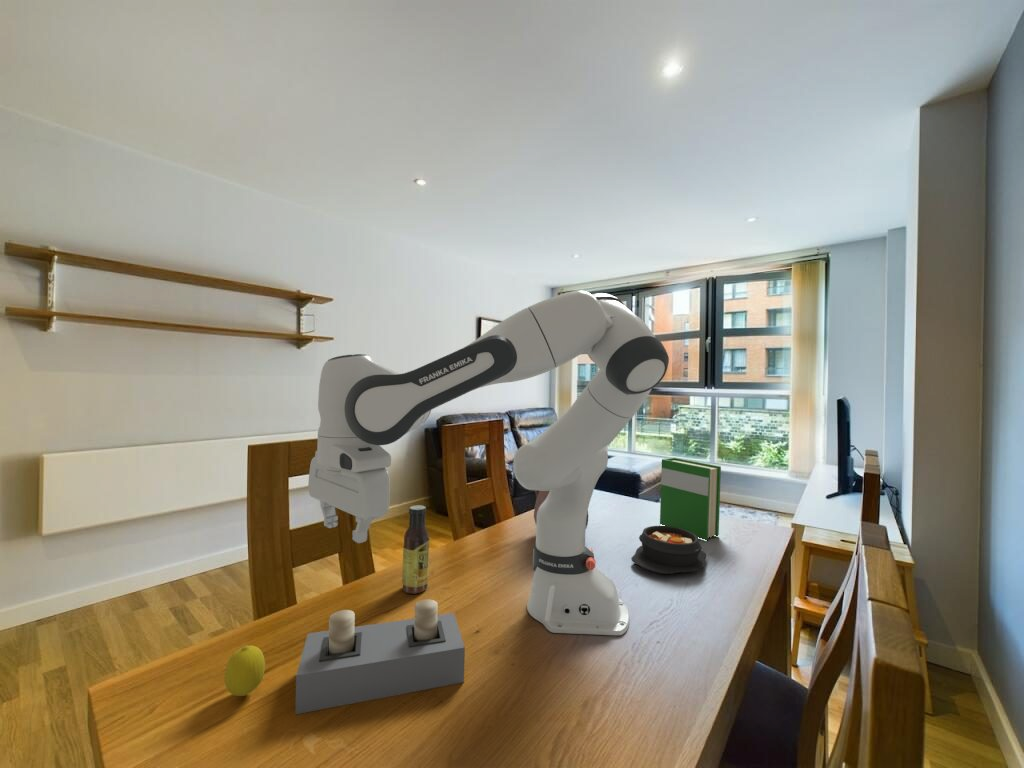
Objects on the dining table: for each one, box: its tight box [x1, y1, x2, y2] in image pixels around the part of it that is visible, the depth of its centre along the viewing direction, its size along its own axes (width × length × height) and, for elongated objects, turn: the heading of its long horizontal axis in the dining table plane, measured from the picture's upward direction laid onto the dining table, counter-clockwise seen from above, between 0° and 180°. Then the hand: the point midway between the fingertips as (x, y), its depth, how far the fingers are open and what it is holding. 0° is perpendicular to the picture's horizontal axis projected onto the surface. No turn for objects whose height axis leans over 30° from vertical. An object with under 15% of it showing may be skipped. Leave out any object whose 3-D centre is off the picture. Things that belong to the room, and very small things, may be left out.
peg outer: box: [328, 609, 356, 656], centre depth 72 cm, size 4×4×6 cm
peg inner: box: [414, 598, 439, 642], centre depth 76 cm, size 4×4×6 cm
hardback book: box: [659, 457, 722, 541], centre depth 148 cm, size 18×7×24 cm, turn 36°
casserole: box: [630, 525, 707, 575], centre depth 122 cm, size 25×19×8 cm
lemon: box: [224, 644, 266, 697], centre depth 69 cm, size 6×6×8 cm
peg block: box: [295, 612, 466, 715], centre depth 74 cm, size 26×11×6 cm, turn 107°
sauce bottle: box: [401, 504, 431, 595], centre depth 104 cm, size 6×6×20 cm
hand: (344, 533), depth 72 cm, fingers open, 8 cm apart
